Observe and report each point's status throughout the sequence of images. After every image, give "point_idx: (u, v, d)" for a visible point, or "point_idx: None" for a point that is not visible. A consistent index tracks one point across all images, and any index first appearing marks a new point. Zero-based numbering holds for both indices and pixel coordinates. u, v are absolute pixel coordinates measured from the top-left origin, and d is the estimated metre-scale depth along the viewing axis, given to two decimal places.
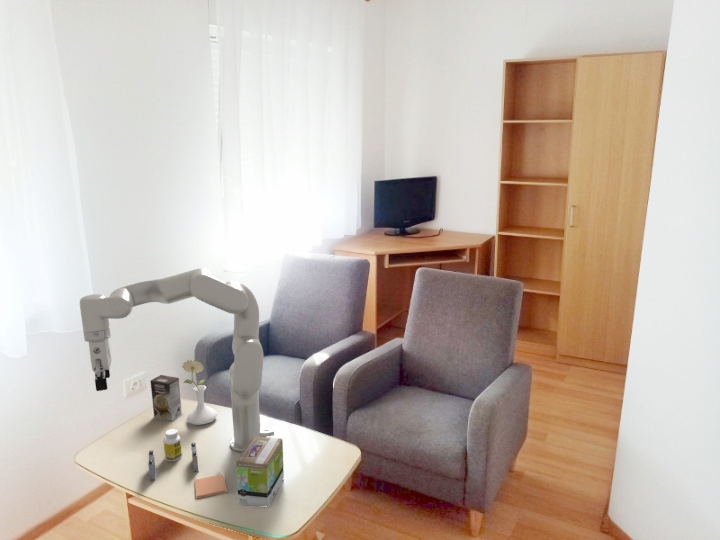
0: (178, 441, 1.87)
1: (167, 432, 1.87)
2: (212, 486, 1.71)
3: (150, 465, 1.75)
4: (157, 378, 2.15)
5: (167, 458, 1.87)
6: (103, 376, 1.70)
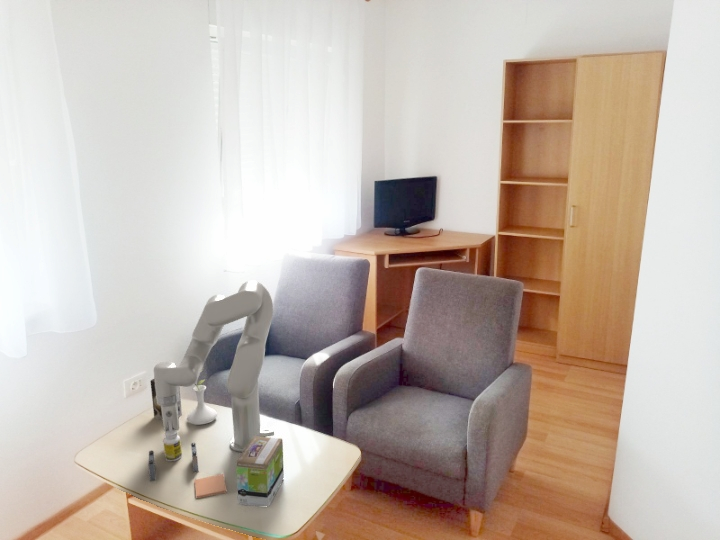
0: (178, 441, 1.87)
1: (166, 432, 1.86)
2: (212, 486, 1.71)
3: (150, 465, 1.75)
4: None
5: (167, 458, 1.87)
6: None
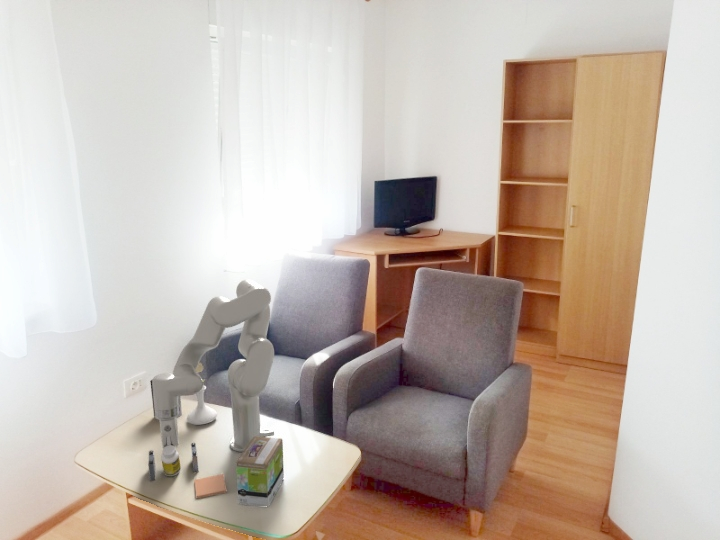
0: (176, 459, 1.76)
1: (164, 450, 1.75)
2: (212, 486, 1.71)
3: (150, 465, 1.75)
4: None
5: (165, 473, 1.78)
6: None
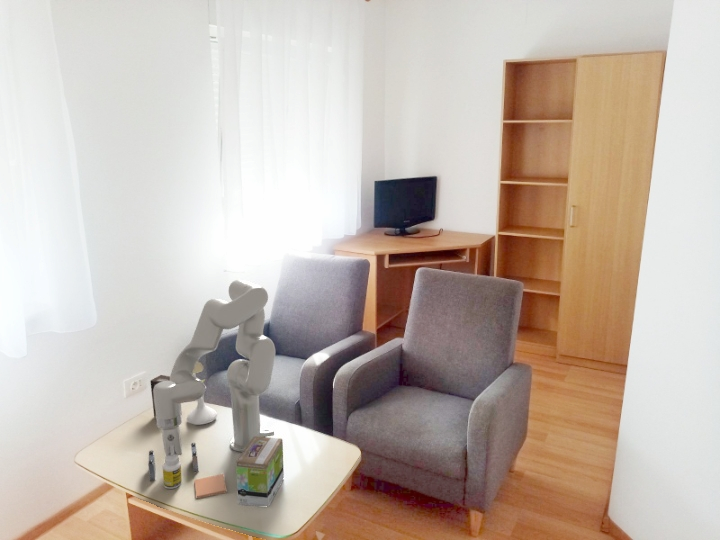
0: (177, 468, 1.71)
1: (167, 457, 1.71)
2: (212, 486, 1.71)
3: (150, 465, 1.75)
4: (157, 378, 2.15)
5: (165, 485, 1.72)
6: None
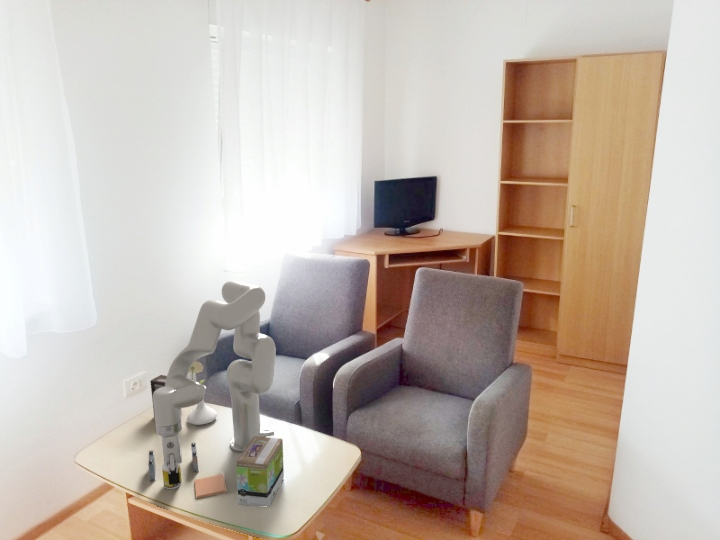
0: None
1: None
2: (212, 486, 1.71)
3: (150, 465, 1.75)
4: (157, 378, 2.15)
5: (165, 485, 1.72)
6: (176, 471, 1.69)
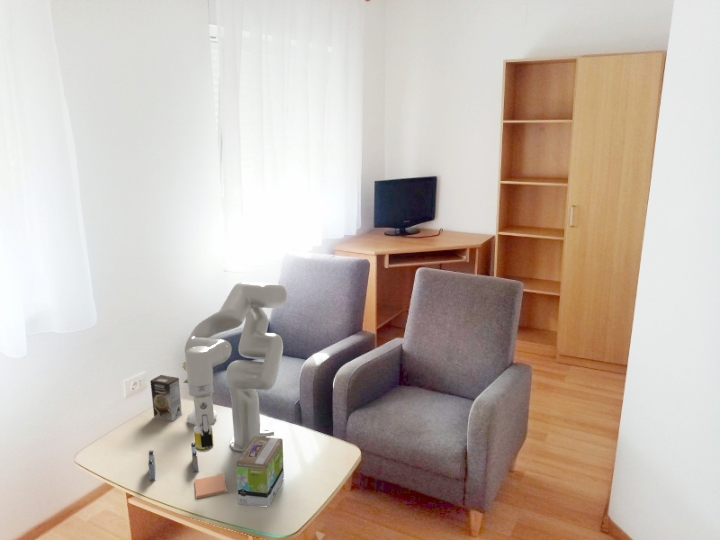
0: None
1: None
2: (212, 486, 1.71)
3: (150, 465, 1.75)
4: (157, 378, 2.15)
5: (197, 448, 1.67)
6: (209, 433, 1.64)
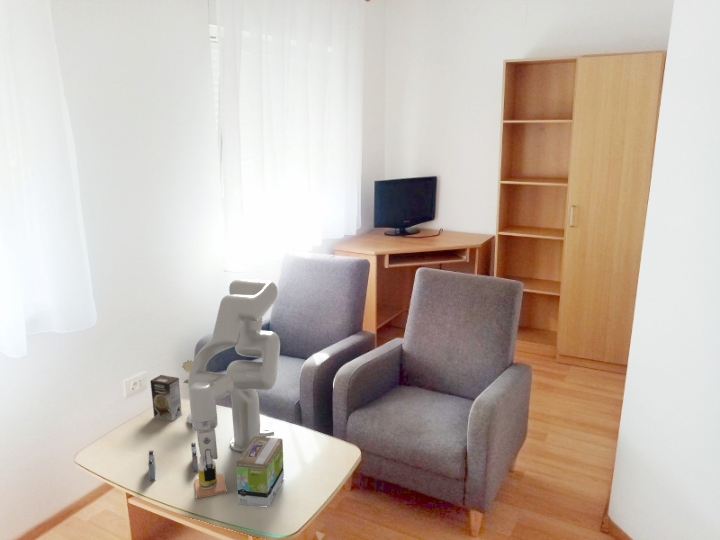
0: None
1: None
2: None
3: (150, 465, 1.75)
4: (157, 378, 2.15)
5: (200, 485, 1.70)
6: (213, 467, 1.65)
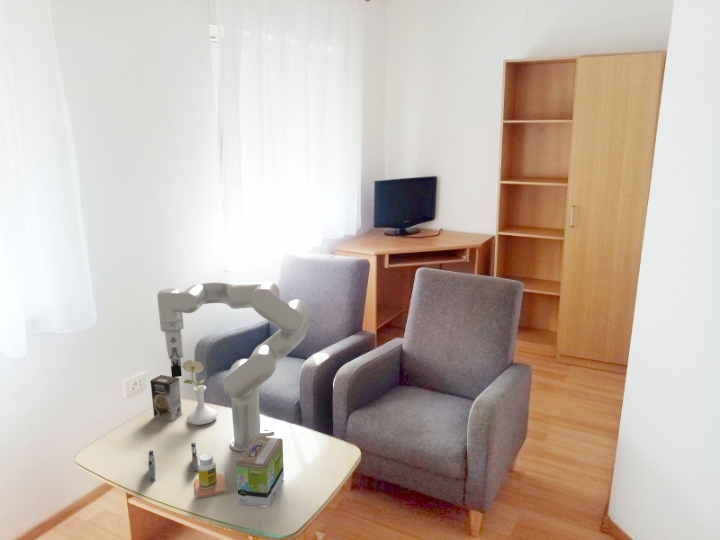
0: (212, 468, 1.69)
1: (201, 457, 1.70)
2: None
3: (150, 465, 1.75)
4: (157, 378, 2.15)
5: (200, 485, 1.70)
6: (178, 363, 1.85)
